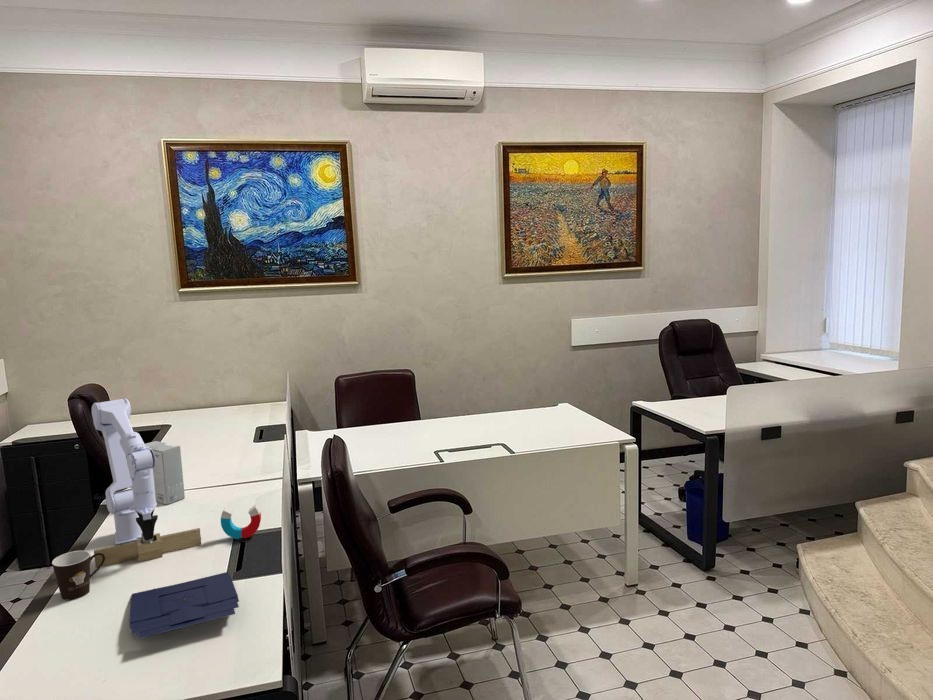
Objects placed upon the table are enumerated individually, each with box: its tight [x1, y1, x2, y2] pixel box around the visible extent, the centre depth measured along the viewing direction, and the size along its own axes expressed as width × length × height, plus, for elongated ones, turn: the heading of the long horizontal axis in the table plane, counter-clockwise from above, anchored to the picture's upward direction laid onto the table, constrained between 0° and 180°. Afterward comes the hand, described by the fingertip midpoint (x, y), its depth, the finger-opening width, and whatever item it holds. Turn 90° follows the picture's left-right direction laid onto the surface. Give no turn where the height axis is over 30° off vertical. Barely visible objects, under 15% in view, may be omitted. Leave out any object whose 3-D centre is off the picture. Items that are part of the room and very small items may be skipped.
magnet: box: [220, 504, 262, 540], centre depth 199 cm, size 12×3×10 cm, turn 102°
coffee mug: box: [51, 550, 105, 601], centre depth 168 cm, size 12×9×10 cm
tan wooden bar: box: [93, 527, 202, 569], centre depth 189 cm, size 6×28×5 cm, turn 119°
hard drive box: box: [144, 440, 186, 505], centre depth 232 cm, size 16×8×20 cm, turn 58°
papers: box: [129, 571, 240, 640], centre depth 159 cm, size 24×30×4 cm
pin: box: [141, 533, 154, 543], centre depth 188 cm, size 3×3×7 cm
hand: (148, 534), depth 188 cm, fingers open, 7 cm apart
